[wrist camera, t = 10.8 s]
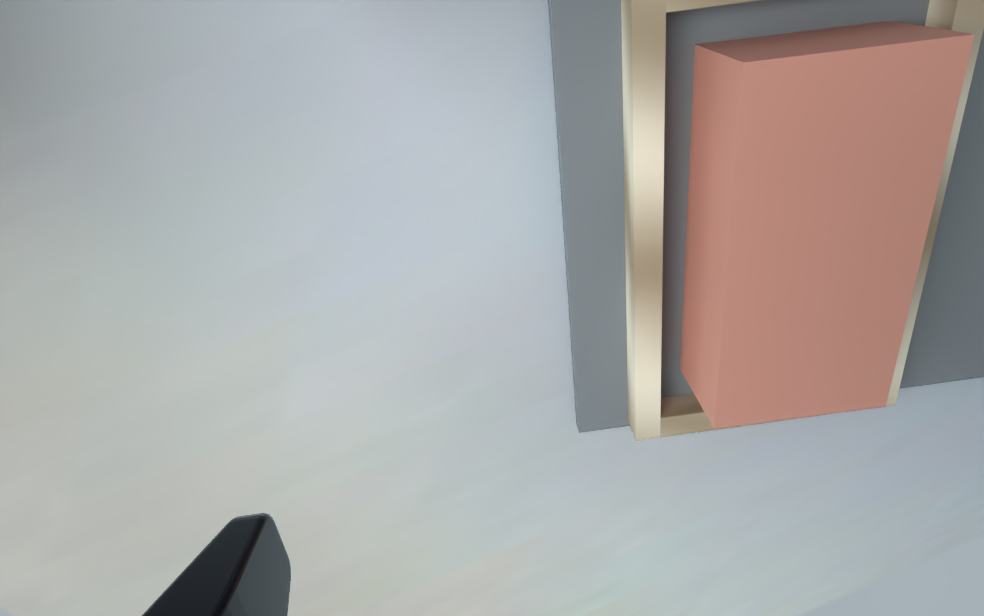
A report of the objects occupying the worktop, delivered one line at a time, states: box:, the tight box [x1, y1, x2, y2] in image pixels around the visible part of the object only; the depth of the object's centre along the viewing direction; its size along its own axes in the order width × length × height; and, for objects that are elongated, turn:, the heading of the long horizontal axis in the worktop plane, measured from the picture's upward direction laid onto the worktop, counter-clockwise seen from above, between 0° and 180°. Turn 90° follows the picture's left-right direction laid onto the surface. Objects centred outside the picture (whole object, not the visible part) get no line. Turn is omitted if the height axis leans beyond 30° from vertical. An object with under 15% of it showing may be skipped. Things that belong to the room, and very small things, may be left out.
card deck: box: [680, 21, 975, 429], centre depth 18 cm, size 5×10×3 cm, turn 6°
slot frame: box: [621, 0, 984, 441], centre depth 19 cm, size 14×9×1 cm, turn 7°
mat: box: [548, 0, 984, 433], centre depth 18 cm, size 17×23×1 cm
